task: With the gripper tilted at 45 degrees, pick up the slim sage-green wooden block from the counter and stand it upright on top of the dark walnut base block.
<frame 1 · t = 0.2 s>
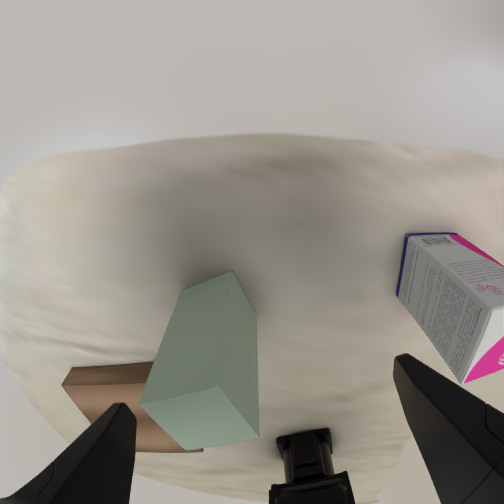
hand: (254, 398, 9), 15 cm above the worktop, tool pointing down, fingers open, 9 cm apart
supplement box: (426, 263, 24), on the worktop
sage block: (219, 303, 25), on the worktop
walnut base: (138, 403, 30), on the worktop
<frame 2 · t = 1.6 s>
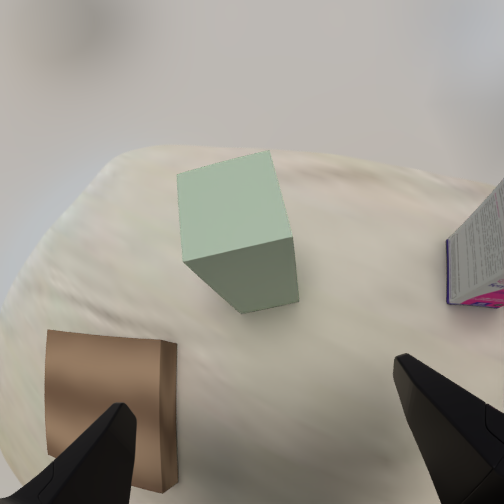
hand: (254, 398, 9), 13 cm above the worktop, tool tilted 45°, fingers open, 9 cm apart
supplement box: (472, 276, 21), on the worktop
sage block: (264, 280, 24), on the worktop
walnut base: (113, 406, 22), on the worktop
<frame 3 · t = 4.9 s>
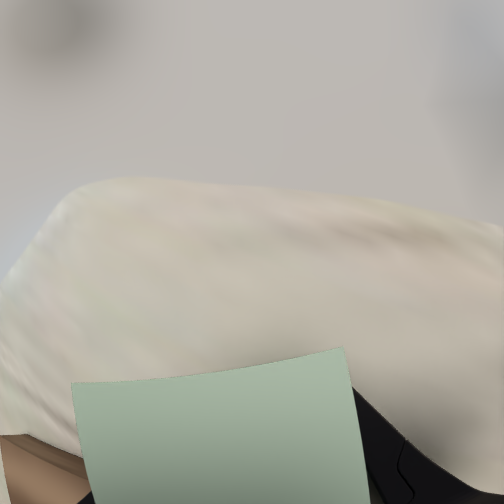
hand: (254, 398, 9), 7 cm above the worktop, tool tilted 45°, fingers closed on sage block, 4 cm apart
sage block: (279, 411, 14), on the worktop, touching gripper
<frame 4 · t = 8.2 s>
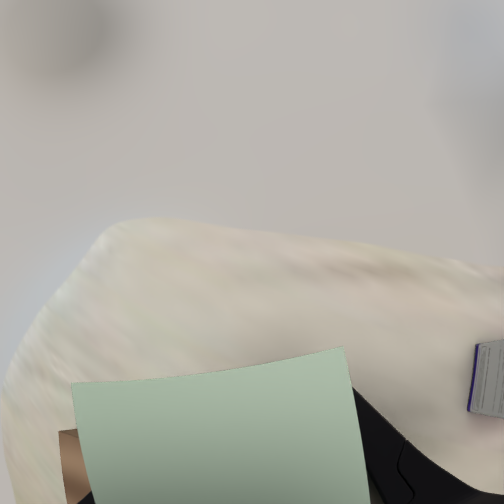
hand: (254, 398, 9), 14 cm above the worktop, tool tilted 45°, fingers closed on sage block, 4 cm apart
supplement box: (495, 378, 18), on the worktop
sage block: (279, 411, 14), point 7 cm above the worktop, touching gripper
walnut base: (135, 499, 18), on the worktop
when the fingers open (11 cm above the worktop, at t = 11.6 s): sage block drops 1 cm, resting on walnut base.
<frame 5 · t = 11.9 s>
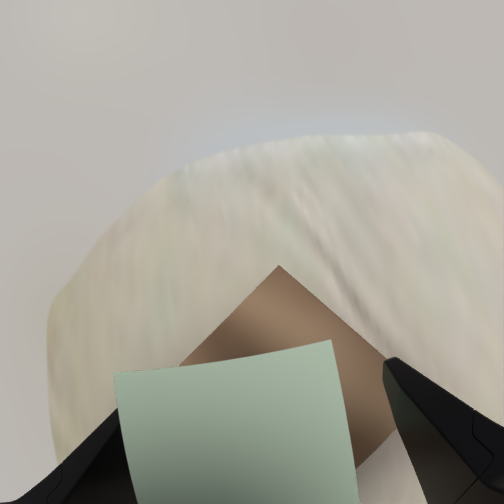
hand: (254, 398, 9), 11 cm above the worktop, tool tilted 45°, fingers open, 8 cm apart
sage block: (281, 406, 16), point 3 cm above the worktop, touching walnut base
walnut base: (284, 401, 18), on the worktop
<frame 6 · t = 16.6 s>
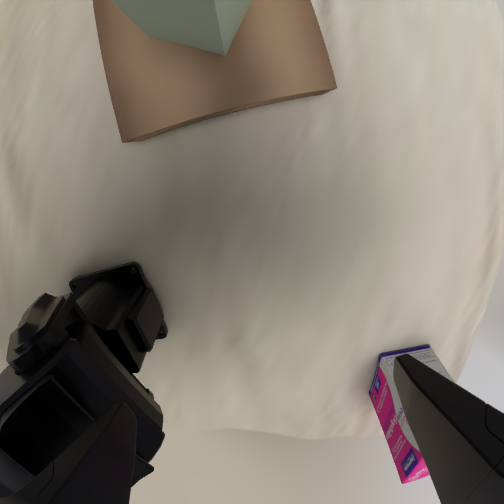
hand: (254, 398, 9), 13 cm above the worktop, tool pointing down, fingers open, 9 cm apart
supplement box: (397, 369, 26), on the worktop
sage block: (202, 11, 12), point 3 cm above the worktop, touching walnut base
walnut base: (207, 29, 15), on the worktop
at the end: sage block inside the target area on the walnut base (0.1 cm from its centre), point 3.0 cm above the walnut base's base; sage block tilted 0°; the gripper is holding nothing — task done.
